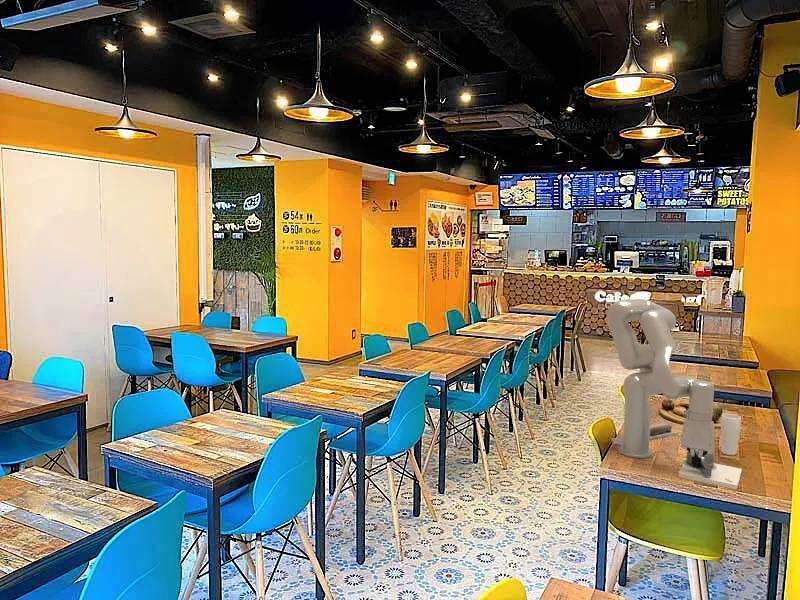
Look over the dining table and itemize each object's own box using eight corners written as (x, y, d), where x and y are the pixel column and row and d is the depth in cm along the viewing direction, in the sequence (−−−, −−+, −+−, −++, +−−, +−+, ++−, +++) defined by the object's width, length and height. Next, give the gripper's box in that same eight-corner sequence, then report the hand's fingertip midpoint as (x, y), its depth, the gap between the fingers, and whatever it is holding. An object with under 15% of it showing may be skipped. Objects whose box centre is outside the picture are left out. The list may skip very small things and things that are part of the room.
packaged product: (649, 430, 248) (629, 424, 257) (648, 442, 248) (629, 435, 257) (678, 425, 256) (658, 418, 265) (677, 436, 257) (658, 429, 265)
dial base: (676, 476, 211) (677, 471, 211) (685, 461, 226) (685, 456, 226) (736, 489, 201) (737, 484, 201) (741, 472, 216) (742, 467, 216)
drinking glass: (720, 449, 240) (723, 412, 239) (740, 453, 236) (743, 415, 234) (716, 453, 235) (719, 416, 233) (736, 457, 231) (739, 419, 229)
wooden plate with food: (646, 417, 283) (648, 400, 282) (676, 404, 305) (677, 388, 304) (719, 435, 260) (720, 417, 259) (745, 421, 282) (746, 403, 280)
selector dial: (684, 458, 224) (684, 449, 224) (710, 461, 222) (711, 452, 221) (693, 475, 207) (694, 466, 207) (722, 479, 205) (723, 469, 204)
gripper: (674, 414, 211) (671, 465, 213) (722, 422, 203) (718, 475, 205) (678, 409, 217) (675, 459, 219) (725, 417, 209) (721, 468, 211)
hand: (695, 466), depth 212 cm, fingers closed
